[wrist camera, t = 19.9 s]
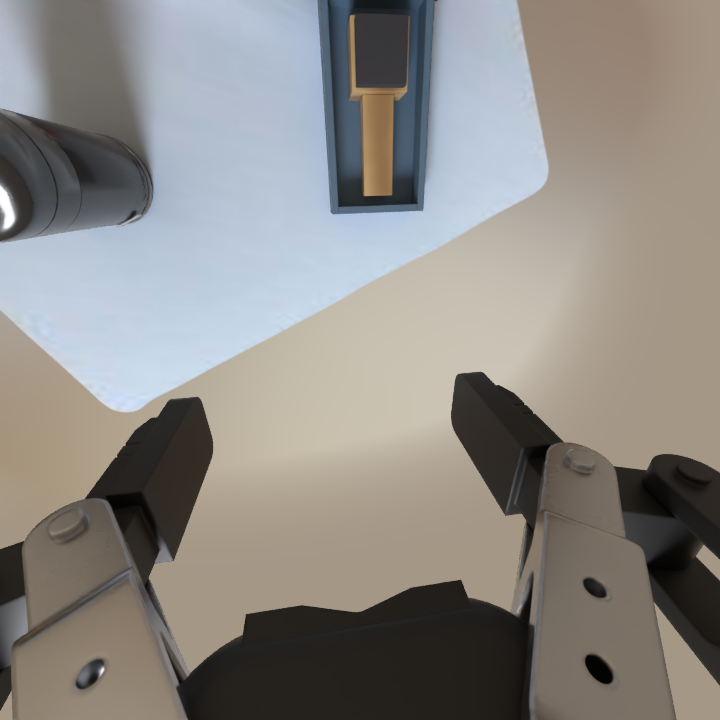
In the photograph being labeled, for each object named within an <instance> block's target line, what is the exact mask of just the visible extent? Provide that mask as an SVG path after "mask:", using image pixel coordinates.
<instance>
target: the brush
mask: <svg viewBox="0 0 720 720" xmlns="http://www.w3.org/2000/svg"><path fill="white" fill-rule="evenodd" d="M409 20H410V17H409V15H408V14H371V13H356V14H355V15H350V18H349V22H348V27H347V32H346V39H347V69H348V99H349V101H359V113H360V160H361V196H384V195H392V177H393V116H394V101H399V100H400V99H401V98H402V96H403V95H404V94H405V93H406V92H407V85H408V53H409Z"/></svg>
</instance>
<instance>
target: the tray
mask: <svg viewBox="0 0 720 720" xmlns="http://www.w3.org/2000/svg"><path fill="white" fill-rule="evenodd" d="M433 12H434V0H318V13H319V29H320V46H321V62H322V78H323V94H324V110H325V126H326V142H327V158H328V174H329V190H330V206H331V213H332V214H350V213H376V212H402V211H423V204H424V185H425V165H426V146H427V127H428V108H429V89H430V70H431V51H432V32H433ZM356 13H371V14H408V15H409V17H410V20H409V53H408V85H407V92H406V93H405V94H404V95H403V96H402V98H401V99H400V100H399V101H394V116H393V177H392V195H384V196H361V160H360V113H359V101H349V99H348V69H347V39H346V32H347V27H348V22H349V18H350V15H355V14H356Z"/></svg>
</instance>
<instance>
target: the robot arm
mask: <svg viewBox="0 0 720 720" xmlns="http://www.w3.org/2000/svg"><path fill="white" fill-rule="evenodd" d="M152 196H153V189H152V183H151V179H150V176H149V174H148V172H147V170H146V168H145V166H144V164H143V163H142V161H141V160H140V159H139V158H138V156H137V155H136V154H135V153H134V152H133V151H132V150H131V149H129V148H128V147H127V146H126V145H124V144H122V143H121V142H119V141H117V140H115V139H113V138H110V137H107V136H103V135H99V134H92V133H89V132H85V131H82V130H78V129H74V128H71V127H67V126H63V125H60V124H56V123H52V122H49V121H45V120H41V119H38V118H34V117H30V116H27V115H23V114H19V113H16V112H12V111H8V110H5V109H0V243H3V242H11V241H17V240H23V239H27V238H34V237H40V236H46V235H53V234H58V233H64V232H71V231H77V230H84V229H90V228H97V227H103V226H111V225H119V226H117V227H120V226H124V225H125V224H128V223H132V222H135V221H137V220H139V219H141V218H142V217H143V216H144V215H145V214H146V213H147V211H148V210H149V208H150V205H151V202H152ZM451 420H452V426H453V429H454V431H455V433H456V435H457V436H458V438H459V440H460V441H461V443H462V445H463V446H464V448H465V450H466V451H467V453H468V455H469V456H470V458H471V459H472V461H473V463H474V465H475V466H476V468H477V470H478V471H479V473H480V474H481V476H482V478H483V479H484V481H485V483H486V484H487V486H488V488H489V489H490V491H491V493H492V494H493V496H494V498H495V499H496V501H497V503H498V504H499V506H500V508H501V509H502V511H503V513H504V514H505V516H506V515H513V514H521V513H522V514H523V516H524V518H525V519H526V523H525V526H524V531H523V538H522V544H521V552H520V558H519V566H518V572H517V579H516V586H515V593H514V597H513V602H512V606H511V611H510V612H508V611H506V610H505V609H503V608H501V607H498V606H495V605H493V604H490V603H488V602H484V601H481V600H477V599H473V598H468V597H467V594H466V592H465V589H464V586H463V584H462V581H461V580H457V581H451V582H444V583H438V584H433V585H426V586H420V587H413V588H410V589H408V590H406V591H403V592H401V593H399V594H397V595H395V596H393V597H391V598H389V599H387V600H385V601H383V602H381V603H379V604H377V605H375V606H373V607H370V608H368V609H366V610H364V611H362V612H348V611H340V610H332V609H325V608H318V607H310V606H303V605H301V606H295V607H288V608H282V609H276V610H270V611H264V612H257V613H251V614H246V619H245V624H244V632H243V635H242V636H240V637H238V638H235V639H234V640H232V641H231V642H229V643H227V644H226V645H224V646H222V647H221V648H219V649H218V650H217V651H215V652H214V653H213V654H212V655H210V656H209V657H208V658H207V659H205V660H204V661H203V662H202V663H201V664H200V665H199V666H198V667H197V668H196V669H194V670H193V671H192V672H191V673H190V672H189V670H188V668H187V666H186V664H185V662H184V659H183V657H182V655H181V653H180V651H179V649H178V647H177V644H176V642H175V640H174V637H173V634H172V632H171V630H170V627H169V625H168V622H167V620H166V618H165V615H164V613H163V610H162V608H161V605H160V603H159V601H158V598H157V596H156V593H155V591H154V589H153V586H152V584H151V582H150V580H149V575H150V573H151V570H152V568H153V566H154V564H155V563H162V562H169V561H174V559H175V556H176V553H177V550H178V548H179V545H180V542H181V540H182V537H183V534H184V532H185V529H186V526H187V524H188V521H189V518H190V515H191V513H192V510H193V507H194V505H195V502H196V499H197V497H198V494H199V491H200V488H201V486H202V483H203V480H204V478H205V475H206V472H207V470H208V467H209V464H210V461H211V459H212V454H213V439H212V435H211V432H210V428H209V425H208V422H207V418H206V414H205V411H204V408H203V404H202V401H201V400H200V398H199V397H191V398H181V399H171V400H169V401H168V402H167V404H166V405H165V407H164V408H163V410H162V411H161V413H160V414H159V416H158V417H157V418H151V419H149V420H148V421H147V422H146V423H144V424H143V425H141V426H140V427H139V428H137V429H136V430H135V431H134V433H133V434H132V435H131V437H130V438H129V440H128V441H127V442H126V446H123V448H122V449H121V450H120V452H119V453H118V454H117V458H115V459H114V460H113V461H112V463H111V464H110V465H109V467H108V468H107V469H106V471H105V472H104V474H103V475H102V476H101V478H100V479H99V480H98V482H97V483H96V485H95V486H94V487H93V488H92V490H91V491H90V493H89V494H88V495H87V497H86V498H85V499H84V500H80V501H77V502H74V503H71V504H69V505H66V506H64V507H62V508H60V509H58V510H57V511H55V512H54V513H52V514H50V515H49V516H48V517H46V518H45V519H43V520H42V521H41V522H40V523H39V524H38V525H37V526H36V527H35V528H34V529H33V530H32V531H31V532H30V533H29V535H28V536H27V537H26V539H25V541H23V542H20V543H17V544H15V545H11V546H8V547H6V548H3V549H0V710H1V708H2V707H3V705H4V703H5V701H6V700H7V698H8V696H9V694H10V692H11V690H12V710H13V720H676V715H675V710H674V705H673V700H672V694H671V690H670V684H669V679H668V674H667V669H666V663H665V659H664V653H663V648H662V643H661V638H660V632H659V627H658V622H657V617H656V612H655V606H654V602H655V603H656V605H657V606H658V607H659V609H660V610H661V611H662V612H663V614H664V615H665V616H666V618H667V619H668V620H669V621H670V623H671V624H672V625H673V626H674V628H675V629H676V630H677V632H678V633H679V634H680V636H681V637H682V638H683V639H684V641H685V642H686V643H687V644H688V645H689V647H690V648H691V650H692V651H693V652H694V653H695V655H696V656H697V657H698V659H699V660H700V661H701V662H702V664H703V665H704V666H705V667H706V669H707V670H708V671H709V672H710V674H711V675H712V676H713V678H714V679H715V680H716V681H717V683H718V684H719V685H720V581H719V579H718V578H716V577H715V575H713V574H712V573H711V572H710V570H709V569H708V568H707V567H706V566H705V565H704V564H702V563H701V561H700V560H698V558H696V555H697V554H698V552H699V551H700V549H701V548H702V546H703V545H705V546H706V547H707V548H708V549H709V550H710V551H712V552H713V553H714V554H715V555H716V556H717V557H718V558H719V559H720V473H719V472H718V471H716V470H714V469H713V468H711V467H709V466H707V465H705V464H703V463H701V462H698V461H696V460H693V459H690V458H687V457H683V456H679V455H672V454H662V455H658V456H655V457H654V458H653V459H652V461H651V463H650V465H649V467H648V469H647V470H639V469H630V468H623V467H615V466H613V465H612V464H611V463H610V462H609V461H608V460H607V459H606V458H605V457H604V456H602V455H601V454H599V453H598V452H596V451H594V450H592V449H590V448H588V447H585V446H582V445H578V444H573V443H564V442H563V441H562V440H561V439H560V438H559V437H558V436H557V435H556V434H555V433H554V432H553V431H552V430H551V429H550V428H549V427H548V426H547V425H546V424H545V423H544V422H543V421H542V420H541V419H540V418H539V417H538V416H537V415H536V414H533V412H532V410H531V409H530V408H528V406H526V405H524V402H523V401H522V400H521V399H519V397H518V396H516V395H515V394H514V393H513V392H511V391H509V390H507V389H505V388H504V387H502V386H500V385H495V384H494V383H492V381H491V380H490V379H489V378H488V377H487V376H486V375H485V374H484V373H482V372H472V373H462V374H458V375H457V376H456V379H455V386H454V394H453V403H452V410H451Z"/></svg>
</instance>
